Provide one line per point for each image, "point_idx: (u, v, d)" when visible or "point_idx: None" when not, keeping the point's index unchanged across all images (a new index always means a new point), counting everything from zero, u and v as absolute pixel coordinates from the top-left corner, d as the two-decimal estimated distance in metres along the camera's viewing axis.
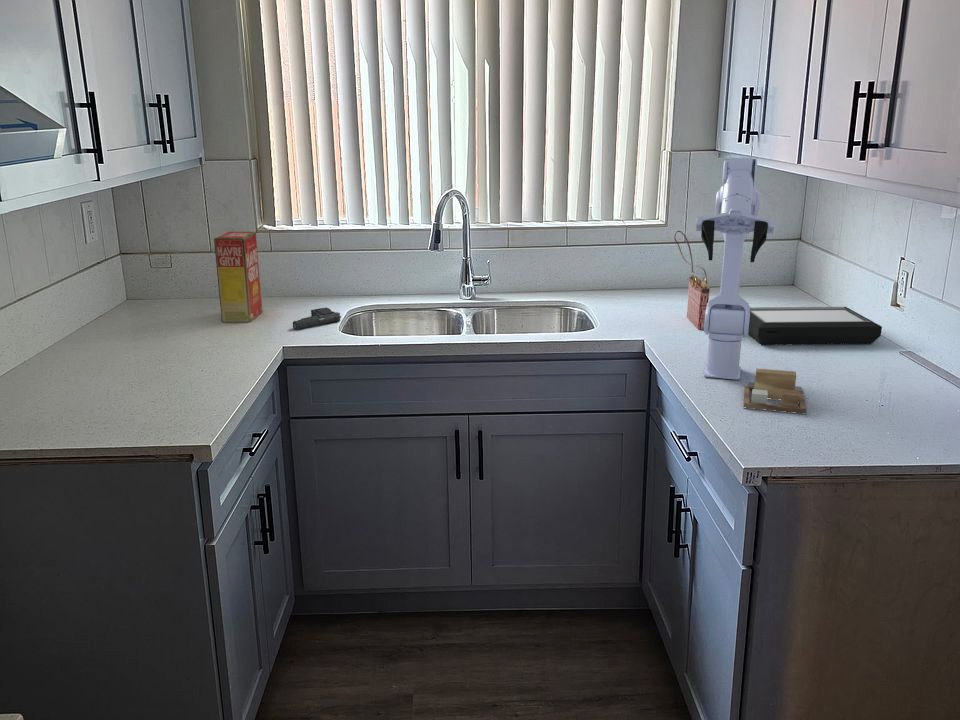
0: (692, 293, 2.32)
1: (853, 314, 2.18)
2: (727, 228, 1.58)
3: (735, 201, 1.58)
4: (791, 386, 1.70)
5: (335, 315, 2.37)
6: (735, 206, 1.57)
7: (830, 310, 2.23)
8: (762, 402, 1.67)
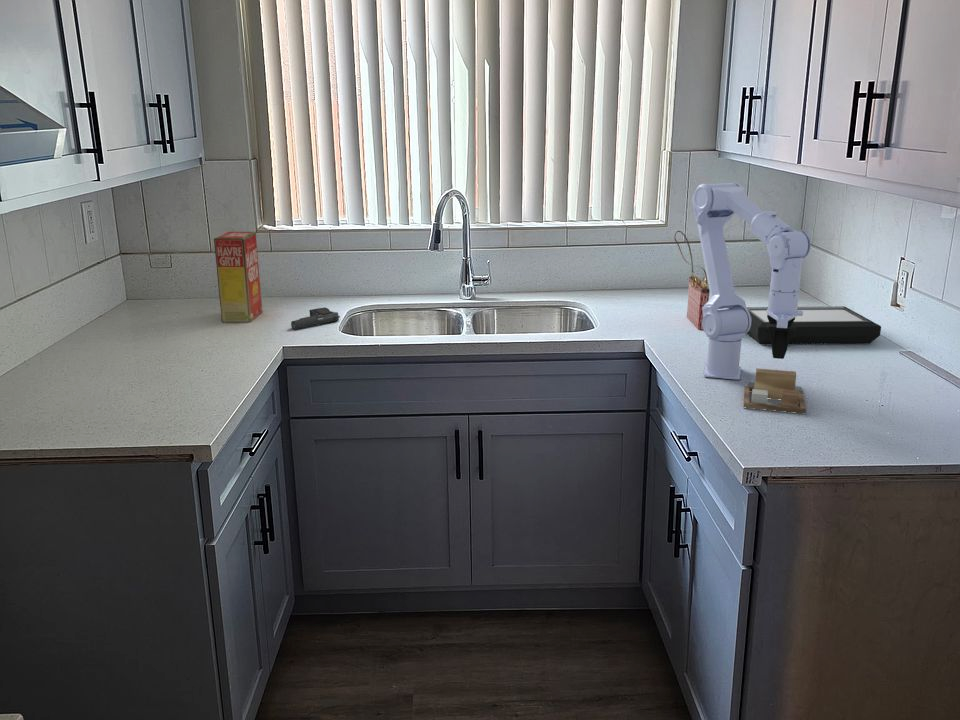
0: (692, 293, 2.32)
1: (852, 314, 2.19)
2: None
3: None
4: (791, 386, 1.70)
5: (334, 315, 2.37)
6: (797, 305, 1.66)
7: (829, 310, 2.24)
8: (762, 402, 1.67)
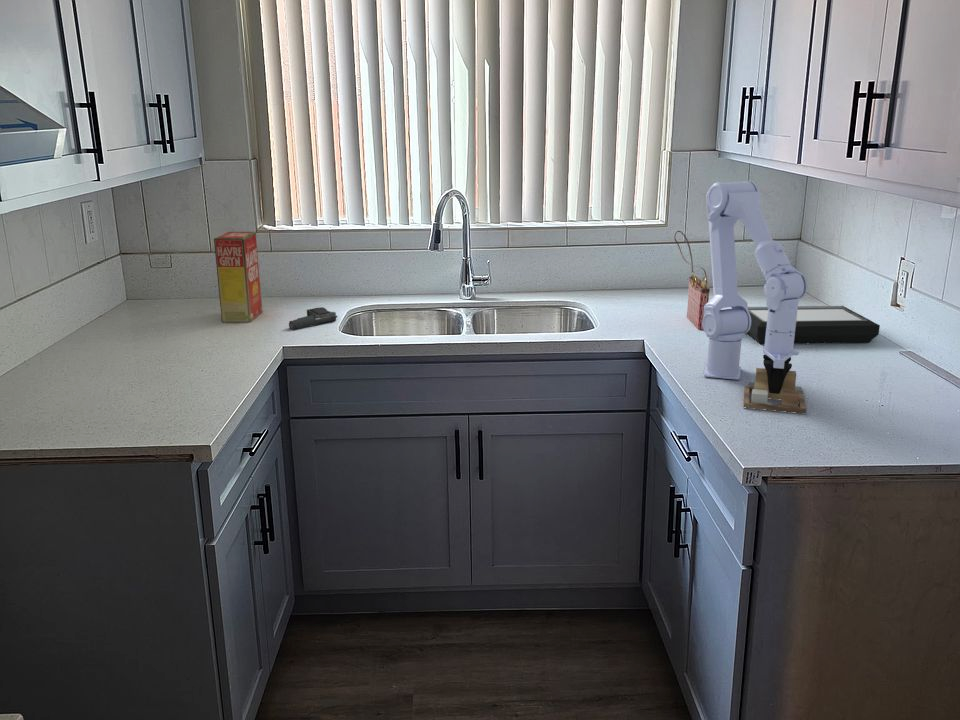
0: (692, 293, 2.32)
1: (851, 313, 2.19)
2: None
3: None
4: (791, 385, 1.70)
5: (331, 315, 2.37)
6: (793, 344, 1.69)
7: (828, 309, 2.24)
8: (762, 402, 1.67)
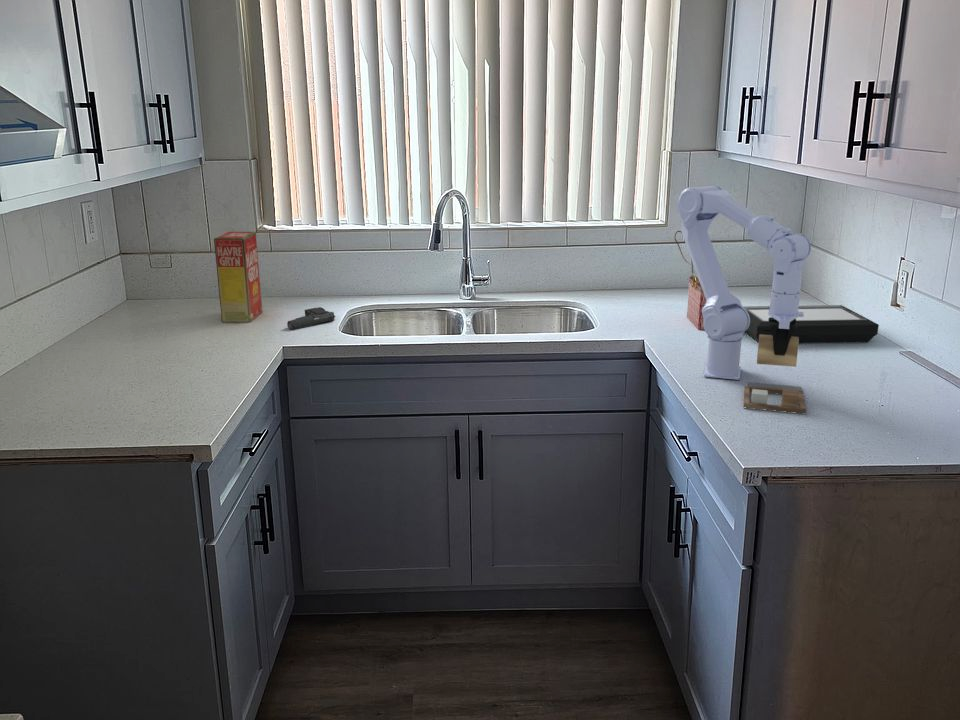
0: (692, 293, 2.32)
1: (849, 312, 2.20)
2: None
3: None
4: (794, 351, 1.73)
5: (329, 315, 2.37)
6: (798, 306, 1.71)
7: (826, 308, 2.25)
8: (762, 402, 1.67)
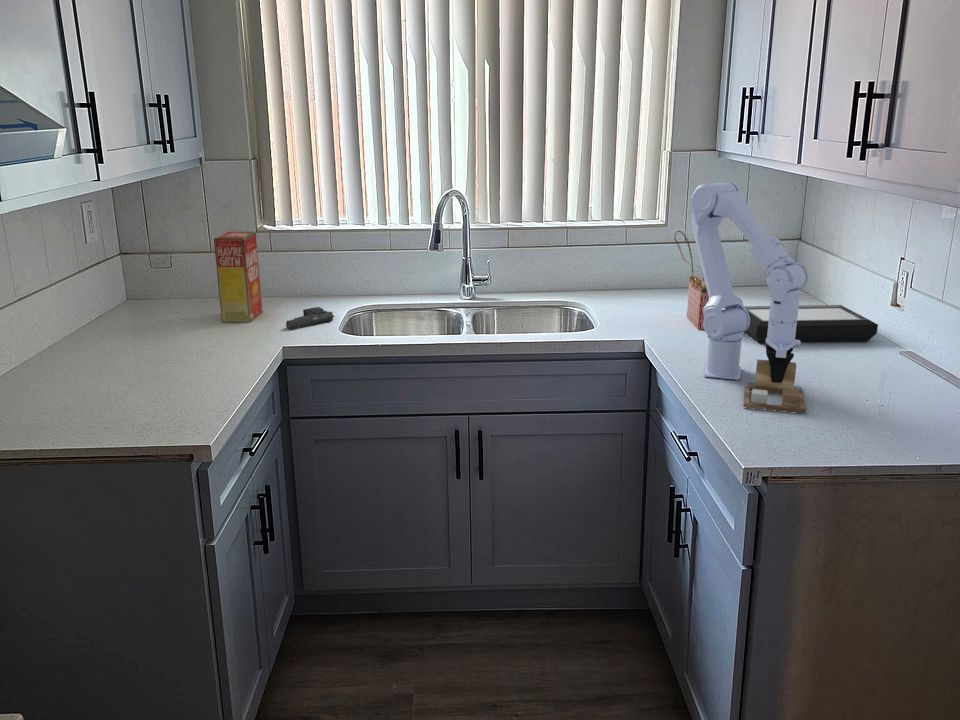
0: (692, 293, 2.32)
1: (849, 312, 2.20)
2: None
3: None
4: (791, 376, 1.75)
5: (328, 314, 2.37)
6: (795, 334, 1.73)
7: (826, 308, 2.25)
8: (762, 402, 1.67)
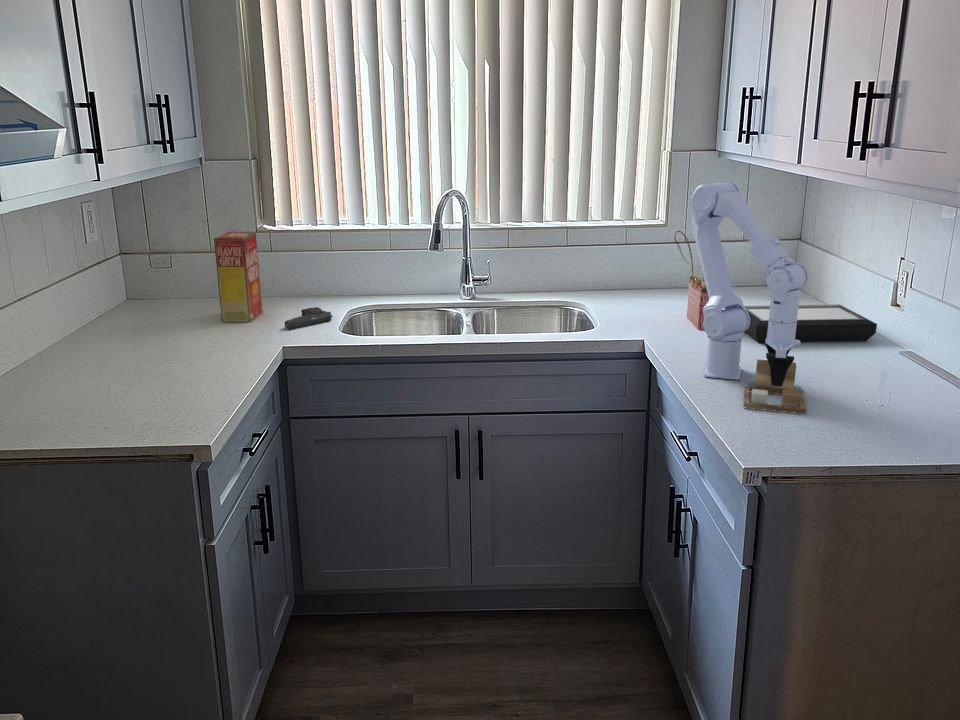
0: (692, 293, 2.32)
1: (848, 312, 2.21)
2: None
3: (795, 329, 1.72)
4: (791, 376, 1.75)
5: (326, 314, 2.37)
6: None
7: (825, 308, 2.26)
8: (762, 402, 1.67)
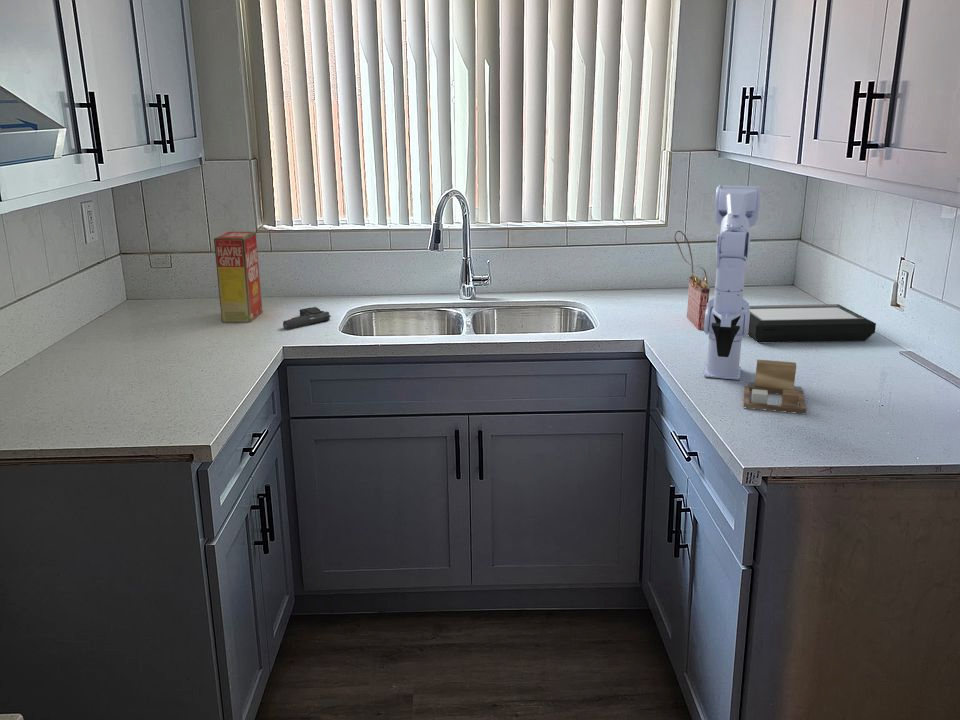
0: (692, 293, 2.32)
1: (846, 311, 2.21)
2: None
3: (742, 298, 1.68)
4: (791, 376, 1.75)
5: (325, 314, 2.38)
6: (742, 304, 1.68)
7: (823, 308, 2.26)
8: (762, 402, 1.67)
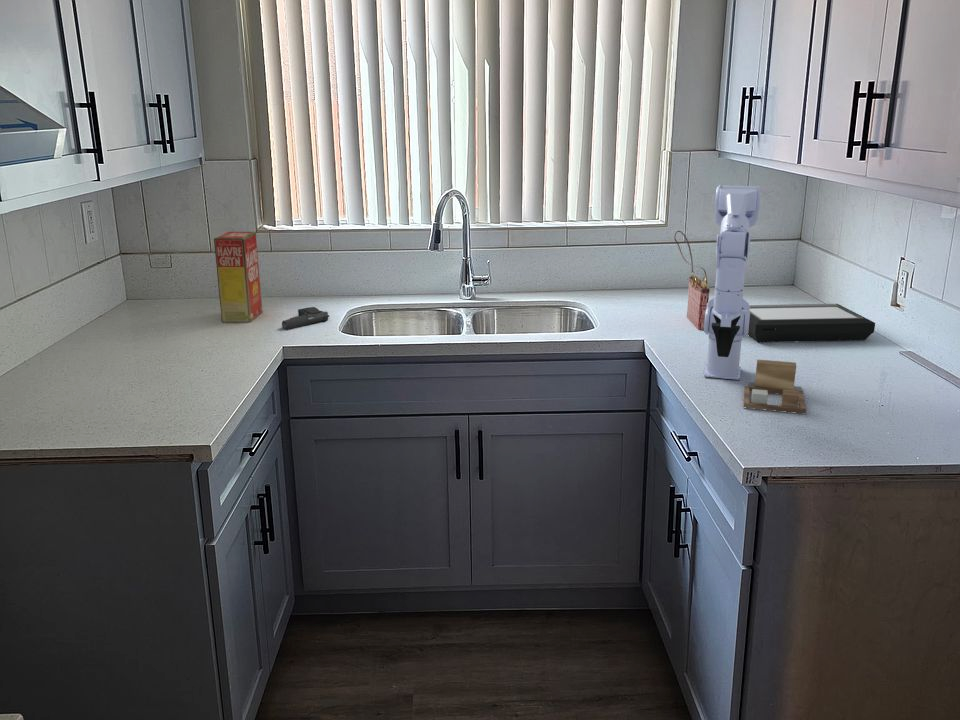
0: (692, 293, 2.32)
1: (846, 311, 2.22)
2: None
3: (742, 298, 1.68)
4: (791, 376, 1.75)
5: (323, 314, 2.38)
6: (742, 304, 1.68)
7: (823, 307, 2.26)
8: (762, 402, 1.67)
